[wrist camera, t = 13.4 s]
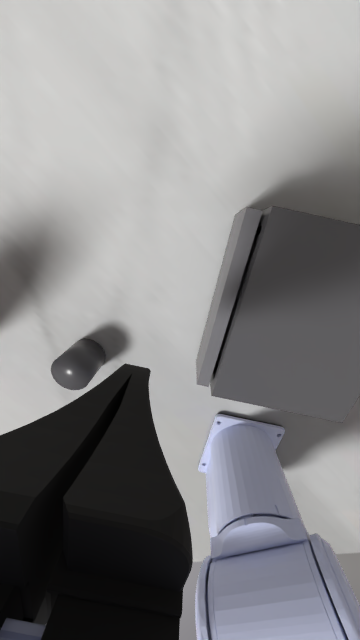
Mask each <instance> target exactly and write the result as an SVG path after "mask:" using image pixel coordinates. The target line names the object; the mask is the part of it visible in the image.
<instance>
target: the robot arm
mask: <svg viewBox="0 0 360 640" xmlns="http://www.w3.org/2000/svg"><path fill="white" fill-rule="evenodd" d="M149 377H150V370H149V369H148V368H143V367H139V366H134V365H129V364H124V365H122V366H121V367H120V368H119V369H118V370H116V371H115V372H114V373H113V374H112V375H110V376H109V377H108V378H106V379H105V380H104V381H102V382H101V383H100V384H98V385H97V386H96V387H94V388H93V389H91V390H90V391H88V392H87V393H85V394H84V395H82V396H81V397H79V398H78V399H76V400H74V401H73V402H71V403H69V404H68V405H66V406H64V407H62V408H60V409H59V410H57V411H55V412H53V413H51V414H49V415H47V416H44V417H42V418H40V419H38V420H36V421H34V422H32V423H30V424H27V425H25V426H23V427H20V428H18V429H16V430H13V431H11V432H8V433H5V434H3V435H0V640H179V621H180V617H181V614H182V596H183V587H184V585H185V582H186V580H187V578H188V576H189V573H190V571H191V567H192V559H193V557H192V543H191V534H190V528H189V522H188V517H187V512H186V507H185V502H184V500H183V498H182V496H181V494H180V492H179V490H178V488H177V486H176V484H175V482H174V480H173V477H172V475H171V473H170V470H169V468H168V466H167V463H166V460H165V458H164V455H163V452H162V449H161V447H160V444H159V441H158V437H157V434H156V430H155V427H154V423H153V418H152V413H151V407H150V400H149V387H148V385H149ZM218 421H220V422H218ZM284 433H285V430H284V428H283V427H281V426H276V425H271V424H266V423H262V422H257V421H252V420H247V419H242V418H238V417H233V416H228V415H223V414H217V415H216V416H215V419H214V422H213V425H212V428H211V431H210V434H209V436H208V439H207V442H206V445H205V448H204V451H203V454H202V457H201V460H200V463H199V466H198V470H199V471H200V472H203V473H206V488H207V507H208V526H209V532H210V536H211V538H210V545H211V555H210V556H207V557H206V558H205V559H204V560H203V563H202V565H201V569H200V573H199V576H198V581H197V587H196V597H195V618H196V632H197V640H360V605H359V603H358V601H357V598H356V596H355V594H354V592H353V590H352V588H351V586H350V583H349V581H348V579H347V577H346V575H345V573H344V571H343V569H342V567H341V565H340V563H339V561H338V559H337V557H336V555H335V553H334V551H333V549H332V547H331V545H330V544H329V543H328V542H327V541H325V540H324V539H321V537H320V536H319V535H318V534H317V533H315V534H313V535H309V534H308V532H307V530H306V528H305V525H304V523H303V520H302V518H301V515H300V513H299V510H298V507H297V505H296V502H295V500H294V497H293V495H292V492H291V490H290V487H289V484H288V482H287V479H286V477H285V474H284V472H283V469H282V466H281V464H280V461H279V459H278V456H277V454H276V449H277V447H278V445H279V443H280V441H281V439H282V437H283V435H284Z"/></svg>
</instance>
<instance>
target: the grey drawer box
mask: <svg viewBox="0 0 360 640" xmlns="http://www.w3.org/2000/svg"><path fill="white" fill-rule="evenodd" d="M255 235H259V238H258V241H257V244H256V248H255V251H254V254H253V257H252V260H251V263H250V267H249V270H248V273H247V276H246V279H245V283H244V286H243V289H242V292H241V295H240V298H239V302H238V305H237V308H236V311H235V314H234V317H233V321H232V324H231V327H230V330H229V333H228V337H227V340H226V343H225V346H224V349H223V352H222V356H221V359H220V362H219V365H218V363H217V360H216V364H215V367H214V370H213V373H212V377H211V380H210V386H211V395H212V396H215V397H220V398H225V399H229V400H234V401H239V402H244V403H249V404H253V405H258V406H263V407H268V408H273V409H277V410H282V411H287V412H292V413H297V414H301V415H306V416H311V417H316V418H321V419H325V420H330V421H335V422H340V423H343V421H344V419H345V418H346V416H347V415H348V413H349V412H350V410H351V408H352V407H353V405H354V404H355V402H356V401H357V399H358V397H359V396H360V225H357V224H353V223H348V222H344V221H339V220H334V219H330V218H325V217H321V216H316V215H312V214H307V213H303V212H298V211H294V210H289V209H285V208H280V207H276V206H271V207H269V208H267V209H265V210H262V214H261V217H260V221H259V224H258V227H257V230H256V234H255Z"/></svg>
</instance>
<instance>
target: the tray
mask: <svg viewBox="0 0 360 640" xmlns="http://www.w3.org/2000/svg"><path fill="white" fill-rule="evenodd" d="M261 214H262V210H258V209H253V208H249V207H246V208H245V209H243V210H242V211H240V212H239V213H237V214H236V215H235V217H234V221H233V225H232V229H231V232H230V236H229V240H228V244H227V247H226V251H225V255H224V258H223V262H222V266H221V270H220V273H219V277H218V281H217V285H216V288H215V292H214V296H213V300H212V303H211V307H210V311H209V315H208V318H207V322H206V326H205V330H204V333H203V337H202V341H201V345H200V348H199V352H198V356H197V359H196V368H197V385H202V386H207V387H208V386H209V383H210V380H211V377H212V373H213V370H214V367H215V364H216V360H217V363H218V365H219V362H220V359H221V356H222V352H223V349H224V346H225V343H226V340H227V337H228V333H229V330H230V327H231V324H232V321H233V317H234V314H235V311H236V308H237V305H238V302H239V298H240V295H241V292H242V289H243V286H244V283H245V279H246V276H247V273H248V270H249V267H250V263H251V260H252V257H253V254H254V251H255V248H256V244H257V241H258V238H259V235H255V234H256V230H257V227H258V224H259V221H260V217H261Z"/></svg>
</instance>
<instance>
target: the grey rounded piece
mask: <svg viewBox="0 0 360 640" xmlns="http://www.w3.org/2000/svg"><path fill="white" fill-rule="evenodd" d="M104 361H105V352H104V350H103V348H102V347H101V346H100V345H99V344H98V343H96V342H95V341H92V340H89V339H82V340H79V341H77V342H76V343H75V344H74V345H72V346H71V347H70V348H69V349H68V350H67V351H65V352H64V353H63V354H62V355H61V356H60V357H58V358H57V359H56V360H55V361H54V362H53V364H52V366H51V373H52V376H53V378H54V379H55V381H56V382H57V383H58V384H59V385H61V386H62V387H64V388H67V389H70V390H80V389H83V388H84V387H86V386H87V385H88V383H89V382H90V381H91V379H92V378H93V377H94V375H95V374H96V373H97V371H98V370H99V369H100V367H101V366H102V365H103V363H104Z"/></svg>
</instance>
